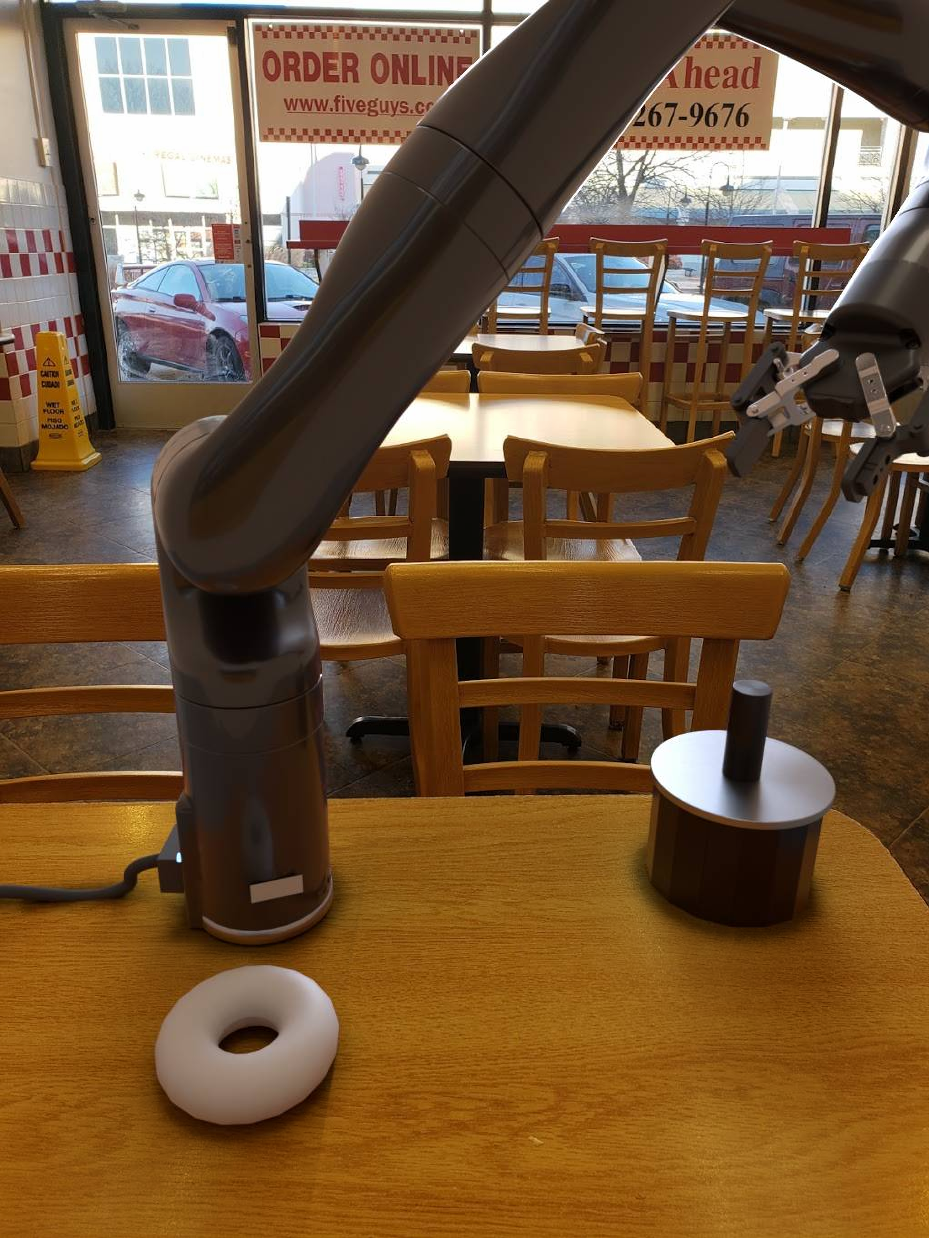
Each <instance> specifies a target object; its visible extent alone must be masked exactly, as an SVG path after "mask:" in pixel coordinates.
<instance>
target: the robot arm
mask: <svg viewBox="0 0 929 1238" xmlns="http://www.w3.org/2000/svg"><path fill="white" fill-rule="evenodd" d="M712 27H716V28H718V29H720V30H723V31H726V32H728V33H731V34H733V35H736V36H738V37H740V38H743V39H745V40H748V41H749V42H753V43H754V44H757V45H759V46H761V47H764V48H766V49H768V50H771V51H773V52H775V53H777V54H779V55H781V56H783V57H785V58H788V59H789V60H792V61H793V62H795V63H797V64H799V65H802V67H805V68H807V69H809V70H811V71H812V72H815V73H817V74H819V75H820V76H822V77H824V78H826V79H827V80H828V81H831V82H833V83H835V84H836V85H838V86H839V87H841V88H842V89H845V90H846V91H847V92H850V93H851V94H853V95H854V96H856V97H858V98H859V99H861V100H862V101H864V102H866V103H867V104H868V105H870V106H872V107H873V108H875V109H877V110H878V111H880V112H882V113H884V114H885V115H886V116H889V117H890V118H892V119H893V120H895V121H897V122H899V124H902V126H903V125H904V126H905V127H907V128H909V129H911V130H913V131H915V132H919V133H923V134H929V0H546V1H544V2H543V3H542V4H541V5H539V7H538V8H536V9H535V10H534V11H533V12H532V13H531V14H529V15H528V17H526V18H525V19H524V20H523V21H521V22H520V23H519V24H518V25H517V26H516V27H515V28H513V29H512V30H511V31H510V32H508V33H507V34H506V35H505V36H504V37H503V38H502V39H501V40H499V41H498V42H497V43H496V44H495V45H494V46H492V48H490V49H489V50H488V51H487V52H486V53H484V55H483V56H482V57H480V58H479V59H478V60H477V61H476V62H475V63H474V64H472V65H471V66H470V67H469V68H468V69H467V70H466V71H465V72H464V73H463V74H462V75H460V77H459V78H457V79H456V80H455V81H454V83H453V84H451V85H450V86H449V87H448V88H447V89H446V90H445V92H443V94H441V96H439V98H438V99H437V100H436V101H435V102H434V103H433V104H432V106H431V107H429V109H428V110H427V111H426V113H425V114H424V115H423V116H422V118H421V119H420V120H419V121H418V122H417V124H416V125H415V127H414V128H413V129H412V130H411V132H409V134H408V136H407V137H406V138H405V140H404V141H403V142H402V143H401V145H400V147H399V148H398V149H397V150H396V152H395V153H394V155H393V156H392V157H391V158H390V159H389V161H388V162H387V164H386V165H385V166H384V167H383V169H382V170H381V172H380V173H379V175H378V176H377V177H376V179H375V180H374V182H373V183H372V185H371V186H370V187H369V189H368V191H367V192H366V194H365V195H364V197H363V198H362V200H361V202H360V204H358V207H357V208H356V209H355V212H354V214H353V215H352V217H351V219H350V221H349V223H348V225H347V227H346V228H345V230H344V233H342V236H341V239H340V241H339V242H338V244H337V247H336V249H335V251H334V253H333V255H332V257H331V259H330V261H329V263H328V265H327V268H326V269H325V272H324V274H323V277H322V278H321V281H320V283H319V286H318V288H317V290H316V292H315V295H314V297H313V298H312V301H311V303H310V305H309V307H308V309H307V311H306V314H305V315H304V317H303V318H302V321H301V322H300V324H299V326H298V328H297V330H296V331H295V333H294V334H293V336H292V337H291V338H290V340H289V341H288V343H287V344H286V346H285V347H284V349H283V350H282V351H281V352H280V354H279V355H278V357H277V358H276V359H275V361H274V362H273V363H272V364H271V366H270V367H269V368H267V370H266V371H265V372H264V373H263V375H262V376H261V377H260V379H258V381H257V382H256V383H255V384H254V385H253V387H252V388H251V389H250V390H249V391H248V393H246V395H245V396H244V397H243V399H242V400H240V401H239V402H238V404H236V406H235V407H234V408H233V409H232V410H231V411H230V412H229V413H228V414H219V415H211V416H206V417H202V418H200V419H196V420H195V421H193V422H190V423H188V424H187V425H185V426H183V427H182V428H180V430H178V431H177V432H176V433H174V434H173V435H172V436H171V437H170V438H169V439H168V440H167V442H166V443H165V444H164V445H163V447H162V449H161V450H160V452H159V453H158V455H157V457H156V460H155V463H154V465H153V469H152V473H151V477H150V504H151V515H152V523H153V524H152V525H153V533H154V541H155V549H156V557H157V566H158V575H159V584H160V592H161V602H162V612H163V613H162V614H163V623H164V630H165V631H164V632H165V638H166V645H167V646H166V647H167V655H168V660H169V667H170V668H169V669H170V674H171V675H170V676H171V685H172V693H173V694H172V695H173V701H174V710H175V719H176V720H175V721H176V728H177V729H176V730H177V738H178V739H177V740H178V746H179V755H180V756H179V757H180V764H181V773H182V775H181V776H182V785H183V789H182V791H181V793H180V795H179V797H178V799H177V801H176V803H175V806H174V807H175V808H174V811H175V812H174V814H175V822H176V823H175V824H174V825H173V827H172V829H171V831H170V833H169V835H168V836H167V839H166V840H165V842H164V844H163V846H162V848H161V850H160V852H158V853H154V854H153V853H152V854H150V855H145V856H142V857H139V858H137V859H135V860H133V861H131V863H129V864H128V865H126V866H127V867H125V869H124V871H123V880H121V881H120V882H118V883H115V884H113V885H110V886H105V887H101V888H95V889H66V888H65V889H64V888H55V887H54V888H53V887H45V886H43V887H42V886H34V885H33V886H32V885H16V884H0V899H4V900H6V899H7V900H24V901H25V900H27V901H38V902H49V903H68V902H82V901H83V902H84V901H96V900H97V901H98V900H107V899H108V900H110V899H116V898H120V897H123V896H125V895H127V894H129V893H131V892H132V891H133V890H134V889H136V887H137V884H138V879H139V878H138V875H140V874H141V873H142V872H145V871H148V870H153V869H156V868H157V874H158V881H159V882H158V884H159V891H160V893H161V894H184V900H185V909H186V918H187V926H188V927H189V928H190V929H203V930H205V931H206V932H207V933H208V934H210V935H212V936H213V937H215V938H217V939H220V940H222V941H225V942H228V943H232V944H237V945H249V946H251V945H267V944H273V943H277V942H281V941H285V940H288V939H291V938H294V937H296V936H299V935H300V934H303V933H304V932H306V931H308V930H310V929H311V928H313V927H314V926H315V925H316V924H318V922H320V921H321V920H322V919H323V918H324V917H325V915H326V914H327V912H328V911H329V910H330V907H331V905H332V902H333V898H334V885H333V876H332V865H331V852H330V851H331V850H330V849H331V848H330V846H331V845H330V827H329V825H330V824H329V805H328V783H327V764H326V763H327V762H326V743H325V742H326V739H325V738H326V737H325V721H324V701H323V675H322V655H321V654H322V651H321V641H320V634H319V630H318V625H317V621H316V616H315V612H314V607H313V600H312V597H311V590H310V582H309V570H308V568H309V567H308V562H309V560H311V558H312V556H313V555H314V554H315V552H316V551H317V549H318V548H319V546H320V545H321V543H322V542H323V540H324V539H325V537H326V535H327V534H328V532H329V531H330V529H331V527H332V526H333V524H334V522H335V521H336V519H337V517H338V516H339V514H340V512H341V510H342V509H343V508H344V506H345V504H346V502H347V501H348V499H349V498H350V496H351V494H352V493H353V491H354V489H355V487H356V486H357V484H358V483H359V481H360V479H361V477H362V476H363V475H364V473H365V472H366V469H367V468H368V466H369V465H370V463H371V462H372V460H373V458H374V457H375V455H376V454H377V452H378V451H379V449H380V448H381V446H382V444H383V443H384V442H385V440H386V439H387V437H388V435H389V434H390V433H391V431H392V429H394V427H395V425H396V424H397V423H398V422H399V420H400V419H401V417H402V416H403V415H404V414H405V412H406V411H407V410H408V409H409V407H410V406H411V405H412V404H413V402H414V401H415V400H416V399H417V398H418V397H419V395H421V393H422V392H423V391H424V390H425V389H426V387H427V386H428V385H429V384H430V383H431V381H432V380H433V379H434V378H435V377H436V376H437V374H438V373H439V372H440V370H441V369H442V368H443V367H444V365H446V363H447V362H448V361H449V360H450V358H451V357H452V356H453V355H454V353H455V352H456V351H457V349H458V348H459V347H460V345H461V344H462V343H463V342H464V340H466V338H467V337H468V335H469V334H470V333H471V331H472V330H473V328H475V326H476V324H478V322H479V321H480V319H482V317H483V316H484V315H485V314H486V312H488V310H489V309H490V308H491V307H492V305H493V304H494V303H495V302H496V301H497V300H498V298H500V297H501V295H502V294H503V292H504V291H505V290H507V288H508V286H509V285H510V284H511V283H512V281H513V280H514V279H515V277H516V276H517V275H518V274H519V272H520V271H521V270H522V268H523V267H524V266H525V265H526V263H527V262H528V260H529V259H530V258H531V256H532V255H533V254H534V252H535V251H536V250H537V248H538V247H539V246H540V244H541V243H542V242H543V240H545V238H546V237H547V235H548V234H549V232H550V231H551V230H552V228H553V227H554V225H555V224H556V222H557V221H558V219H559V218H560V217H561V215H562V214H563V212H564V211H565V210H566V209H567V207H568V205H569V204H570V203H571V202H572V200H573V198H574V197H575V196H576V195H577V194H578V193H579V191H580V190H581V188H582V187H583V185H585V183H586V182H587V181H588V179H589V177H590V176H591V175H592V174H593V173H594V172H595V170H596V169H597V168H598V166H599V165H600V163H602V161H603V160H604V159H605V157H607V155H608V154H609V152H610V151H611V149H612V148H613V147H614V145H615V144H616V142H617V141H618V140H619V138H620V137H621V136H622V134H623V133H624V132H625V130H626V129H627V127H628V126H629V125H630V123H631V122H632V120H633V119H634V118H635V116H636V115H637V114H638V113H639V111H640V110H641V108H642V107H643V106H644V104H645V103H646V101H647V100H648V99H649V98H650V97H651V95H652V94H653V92H654V91H655V90H656V89H657V88H658V87H659V86H660V84H661V83H662V82H663V81H664V79H665V78H666V77H667V76H668V75H669V73H670V72H671V71H672V70H673V69H674V68H675V67H676V65H678V63H679V62H680V61H682V59H683V58H684V57H685V56H686V54H687V53H688V52H689V51H690V50H691V49H692V48H694V46H695V45H696V44H697V43H698V42H699V41H700V39H701V38H703V37H704V35H705V34H706V33H707V32H708V31H709V30H710V29H711V28H712ZM838 297H839V298H837V301H836V302H835V304H834V305H833V307H832V308H831V310H830V311H829V313H828V315H827V316H826V318H825V320H824V322H823V325H822V329H821V332H820V335H819V338H818V340H817V342H815V343H814V344H813V345H812V346H810V348H809V349H807V350H805V351H804V352H803V353H798V352H791V351H787V350H786V347H785V346H784V344H783V342H781V341H774V342H772V343H770V344H769V345H768V346H767V347H766V349H765V350H764V352H763V353H762V354H761V356H760V357H759V359H758V360H757V361H756V363H755V364H754V366H753V367H752V368H751V370H750V371H749V372H748V374H747V375H746V377H745V378H744V380H742V382H741V383H740V385H739V386H738V388H737V389H736V390H735V392H734V393H733V394H732V396H731V397H730V399H729V404H730V406H731V408H732V410H733V412H734V414H735V416H736V418H737V420H738V421H739V424H740V428H739V429H738V431H737V432H736V434H735V436H734V437H733V439H732V440H731V442H730V444H729V445H728V446H727V448H726V450H725V455H724V457H725V459H726V460H725V461H726V465H727V467H728V469H729V471H730V472H731V475H732V476H733V477H734V478H738V479H743V480H745V479H746V478H747V477H748V476H749V474H750V472H751V471H752V469H753V468H754V466H755V464H756V463H757V462H758V460H759V458H760V457H761V455H762V454H763V452H764V451H765V449H766V447H767V446H768V444H769V443H770V441H771V439H770V437H771V436H772V435H775V434H776V433H778V432H780V431H782V430H783V429H785V428H787V427H788V426H791V425H793V426H800V425H802V424H803V423H805V422H807V421H809V420H811V419H812V418H814V417H816V418H819V419H820V418H821V419H827V420H828V419H841V420H843V421H845V422H848V423H854V424H860V423H861V421H863V420H864V421H865V420H868V419H871V423H872V425H873V429H874V433H875V435H874V436H873V437H868V436H867V437H866V439H865V441H864V442H863V443H862V445H861V447H860V448H859V451H858V452H857V453H856V455H855V457H854V459H853V460H852V462H851V463H850V464H849V466H848V468H847V469H846V472H845V473H844V475H843V476H842V478H841V480H840V489H841V492H842V494H843V496H844V499H845V501H846V502H849V503H854V504H860V503H862V501H863V499H864V498H865V497H868V498H869V497H870V496H871V495H873V494H874V493H875V492H876V491H877V489H878V487H880V484H881V482H882V481H883V479H884V478H885V476H886V474H887V472H888V471H889V469H890V468H891V466H892V464H893V463H894V461H896V460H898V459H900V458H901V457H903V456H904V455H911V454H916V455H917V457H919V458H928V457H929V135H928V136H927V140H926V144H925V149H924V152H923V155H922V159H921V162H920V165H919V170H918V175H917V178H916V182H915V186H914V188H913V189H912V191H911V192H910V193H909V195H908V197H906V199H905V201H904V203H903V204H902V205H901V207H900V209H899V211H898V212H897V214H896V215H895V217H894V218H893V220H892V221H891V222H890V224H889V226H888V227H887V228H886V230H885V231H884V232H883V233H882V234H881V235H880V236H879V237H878V238H877V240H876V241H875V242H874V244H873V245H872V247H871V248H870V249H869V250H868V252H867V254H866V256H865V257H864V259H863V260H862V261H861V263H860V265H859V266H858V268H857V269H856V271H855V273H854V274H853V275H852V277H851V279H850V280H849V281H848V284H847V285H846V286H845V288H844V290H843V291H842V293H841V294H840V296H838ZM920 388H922V391H923V396H922V397H921V400H920V401H919V403H918V405H917V408H916V409H915V411H914V413H913V415H912V417H911V419H910V420H909V422H908V424H900V425H898V424H897V419H896V416H895V413H894V409H893V407H892V406H894V405H895V404H897V403H899V402H900V401H902V400H904V399H905V398H907V397H909V396H911V395H912V394H915V393H916V392H918V390H920ZM801 390H802V392H803V393H802V394H803V397H804V399H805V401H804V402H802V403H800V404H797V402H796V400H795V396H796V394H798V392H799V391H801ZM781 407H782V409H781V410H779V411H778V412H776V413H775V414H772V415H771V416H769V414H771V413H773V412H775V411H776V410H778V409H780V408H781Z"/></svg>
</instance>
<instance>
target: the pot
mask: <svg viewBox="0 0 929 1238" xmlns="http://www.w3.org/2000/svg"><path fill="white" fill-rule="evenodd" d="M650 805H651V807H650V817H649V826H648V835H647V844H646V845H647V847H646V854H645V855H646V857H645V867H646V871H647V875H648V878H649V882H650V884H651V885H652V886H653V887H654V889H655V890H657V892H658V893H659V894H660V895H661V896H662V897H663V898H664V899H665V901H667V902H668V903H669V904H671V905H672V906H675V907H676V908H677V909H680V910H681V911H683V912H685V913H686V914H689V915H691V916H692V917H694V918H697V919H699V920H703V921H706V922H710V923H714V924H717V925H721V926H724V927H725V926H726V927H730V928H761V929H762V928H763V929H764V928H768V927H771V926H774V925H778V924H782V923H785V922H788V921H791V920H793V919H794V918H795V917H796V916H797V915H798V914H799V913H801V912H802V910H803V909H804V908H805V907H807V906H808V904H809V899H810V893H811V889H812V883H813V878H814V877H813V876H814V870H815V865H816V859H817V854H818V850H819V849H818V848H819V842H820V837H821V833H822V832H821V831H822V826H823V820H824V816H823V817H821V818H820V819H818V820H816V821H814V822H812V823H809V824H806V825H803V826H799V827H794V828H789V829H779V830H759V829H747V828H740V827H734V826H729V825H725V824H721V823H717V822H714V821H711V820H708V819H705V818H702V817H699V816H697V815H695V814H692V813H690V812H688V811H686V810H684V809H682V808H681V807H679V806H678V805H676V804H674V803H673V802H672V801H670V800H669V799H668V798H666V797H665V796H664V795H663V794H662V793H661V792H660V791H659V790H658V788H657V787H656V785H655V784H654V783H653V785H652V796H651V804H650Z"/></svg>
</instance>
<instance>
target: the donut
mask: <svg viewBox="0 0 929 1238" xmlns="http://www.w3.org/2000/svg"><path fill="white" fill-rule="evenodd" d="M260 1026H261V1027H266V1028H270V1029H272V1030H273V1031H275V1032H277V1033H278V1036H277V1037H276V1038H275V1039H274V1040H273V1041H272V1042H271V1043H270V1044H268V1045H266V1046H265V1047H263V1048H261V1049H259V1050H256V1051H255V1050H254V1051H252V1052H248V1053H232V1052H228V1051H225V1050H223V1049H222V1048H220V1046H219V1045H220V1043H221V1042H222V1041H223V1040H224V1039H225V1038H226V1037H227V1036H228V1035H231V1034H232V1033H234V1032H236V1031H238V1030H240V1029H244V1028H248V1027H260ZM339 1030H340V1024H339V1020H338V1016H337V1014H336V1011H335V1008H334V1005H333V1001H332V999H331V998H330V997H329V996H328V995H327V993H326V992H325V991H324V990H323V989H322V988H321V986H319V985H318V984H317V982H316V981H315V980H314V979H312V978H310V977H308V976H306V975H304V974H303V973H301V972H299V971H297V970H295V969H290V968H285V967H281V966H275V965H271V964H264V965H262V964H261V965H260V964H259V965H245V966H240V967H236V968H233V969H232V968H231V969H228V970H225V971H221V972H219V973H217V974H215V975H213V976H211V977H209V978H206V979H205V980H203V981H201V982H199V983H198V984H196V985H195V986H194V987H192V989H190V990H189V991H187V993H185V994H184V995H182V996H181V997H180V998H179V999H178V1000H177V1002H176V1003H175V1004H174V1005H173V1007H172V1008H171V1009H170V1011H169V1012H168V1013H167V1015H166V1016H165V1018H164V1020H163V1022H162V1024H161V1026H160V1029H159V1032H158V1036H157V1039H156V1041H155V1045H154V1061H155V1063H154V1064H155V1069H156V1070H155V1071H156V1077H157V1080H158V1082H159V1085H161V1087H162V1089H163V1091H164V1092H165V1094H166V1095H167V1097H168V1098H169V1100H170V1102H171V1103H173V1104H174V1105H175V1106H176V1107H178V1108H180V1109H181V1110H183V1111H184V1112H186V1113H187V1114H189V1115H190V1116H191V1117H193V1118H194V1119H197V1120H201V1121H205V1122H209V1123H212V1124H216V1125H219V1126H225V1125H228V1126H229V1125H251V1124H254V1123H257V1122H261V1121H264V1120H268V1119H270V1118H274V1117H277V1116H280V1115H281V1114H283V1113H285V1112H286V1111H288V1110H290V1109H292V1108H293V1107H295V1106H297V1105H298V1104H300V1103H301V1102H303V1101H304V1100H306V1099H307V1098H308V1096H309V1095H310V1094H311V1093H312V1092H313V1091H314V1090H315V1089H316V1088H317V1087H318V1086H319V1085H320V1084H321V1083H322V1082H323V1080H324V1079H325V1078H326V1076H327V1074H328V1072H329V1070H330V1067H331V1066H332V1064H333V1061H334V1059H335V1058H336V1055H337V1051H338V1043H339V1042H338V1041H339V1032H340V1031H339Z"/></svg>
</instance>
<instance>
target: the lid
mask: <svg viewBox="0 0 929 1238" xmlns="http://www.w3.org/2000/svg"><path fill="white" fill-rule="evenodd" d="M773 692H774V689H773V688H772V686H770V685H769V684H767V683H766V682H763V681H760V680H755V679H739V680H737V681H735V682H733V684H732V689H731V696H730V703H729V711H728V719H727V726H726V730H723V729H722V730H721V729H718V730H717V729H716V730H714V729H713V730H710V729H709V730H698V731H691V732H686V733H683V734H679V735H677V736H674V737H671V738H669V739H667V740H665V741H664V742H662V743H660V744H659V746H658V747H656V749H655V750H654V752H653V754H652V756H651V759H650V764H649V765H650V766H649V773H650V777H651V779H652V782H653V785H654V784H655V785H656V787H657V788H658V790H659V791H660V792H661V793H662V794H663V795H664V796H665V797H666V798H668V799H669V800H670V801H672V802H673V803H674V804H676V805H678V806H679V807H681V808H682V809H684V810H686V811H688V812H690V813H692V814H695V815H697V816H699V817H702V818H705V819H708V820H711V821H714V822H717V823H721V824H725V825H729V826H734V827H740V828H747V829H759V830H779V829H789V828H794V827H799V826H803V825H806V824H809V823H812V822H814V821H816V820H818V819H820V818H821V817H823V818H824V816H825V815H827V813H828V812H829V811H831V808H832V807H833V805H834V802H835V798H836V793H837V792H836V789H837V788H836V783H835V781H834V778H833V777H832V774H831V773H830V772H829V771H828V769H827V768H826V767H825V766H824V765H823V764H822V763H821V762H820V761H819V760H817V759H816V758H814V756H811V755H810V754H808V753H807V752H805V751H803V750H802V749H800V748H797V747H795V746H793V745H791V744H788V743H786V742H783V741H781V740H777V739H775V738H771V737H767V734H768V728H769V721H770V714H771V709H772V708H771V707H772V701H773V700H772V699H773Z"/></svg>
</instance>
